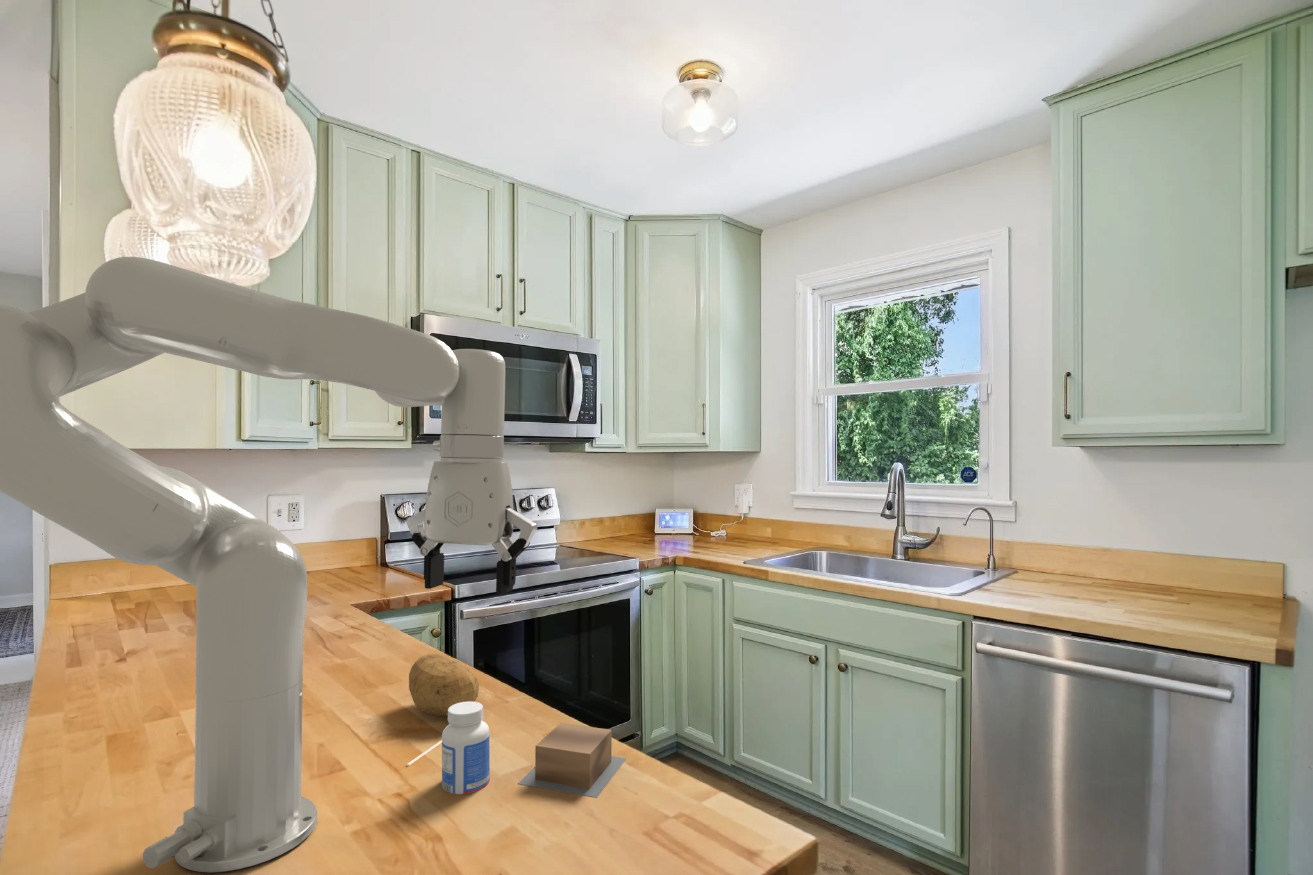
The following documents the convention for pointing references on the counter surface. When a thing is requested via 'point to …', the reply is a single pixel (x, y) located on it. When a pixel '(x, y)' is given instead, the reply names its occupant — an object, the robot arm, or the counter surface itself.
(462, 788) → the pill bottle
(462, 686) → the potato
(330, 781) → the counter surface
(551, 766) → the brown square block
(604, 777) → the baseplate
